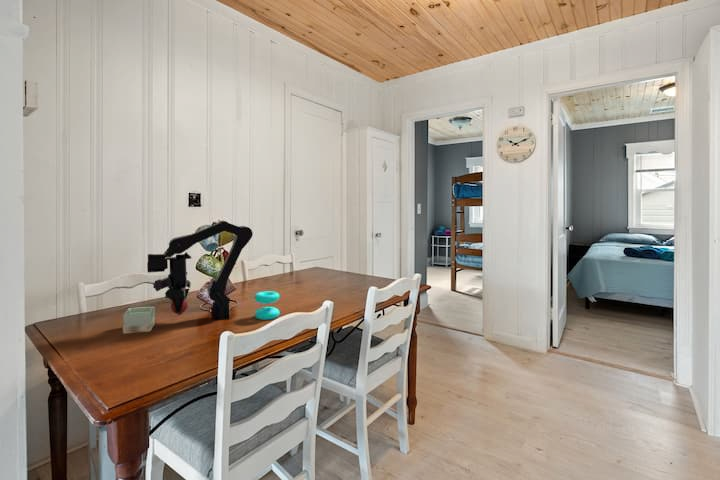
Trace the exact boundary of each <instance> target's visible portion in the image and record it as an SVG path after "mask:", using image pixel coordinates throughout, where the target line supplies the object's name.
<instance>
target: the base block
mask: <svg viewBox="0 0 720 480" xmlns="http://www.w3.org/2000/svg"><path fill="white" fill-rule="evenodd" d="M155 324H156V318H155V319H154V320H153V322H152V324H151V325H141V326H129V327H124V325H123V326H122V334H133V333H135V334H136V333H147V332H151V331H152V329H153V328H154V326H155Z"/></svg>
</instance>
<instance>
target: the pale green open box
mask: <svg viewBox="0 0 720 480" xmlns="http://www.w3.org/2000/svg"><path fill="white" fill-rule="evenodd" d="M155 310H156V308H155V306H144V307H143V306H142V307H129V308H128V309H126V311H125V312H124V313H123V314H122V315H123V326H124V327H129V326H141V325H151V324H152V322H153V320H154V319H155V320H156V314H155V313H156V311H155Z"/></svg>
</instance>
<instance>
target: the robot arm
mask: <svg viewBox="0 0 720 480" xmlns="http://www.w3.org/2000/svg"><path fill="white" fill-rule="evenodd" d="M223 232H227V233H230V234H231V235H234V236H233V241H232V245H231V247H230V250H229V252H228V253H227V256H226V258H225V260H224V262H223V264H222V266H221V268H220V270H219V273H218V275H217V276H216V277H215V278H214V279H213V278H210V281H209V284H208V285H207V286H206V288H207V291H206V292H207V295H208V297H209V299H210V300H211V301H213V302H212V305H211V308H210V313H211V316H210V317H211V318H212V320H213V321H214V320H228V319H230V318H231V313H230V311H231V310H230V309H231V308H230V307H231V306H230V302H231V298H230V297H229V296H228V294H226V290H227V286H228V281H229V278H230V275H231V274H232V272H233V269H234V268H235V265H236V264H237V261H238V259H239V257H240V255H241V252H242V251H243V249H244V248H245V247H246V246H247V245H248V244H249V242H250V240H252V238H253V235H254V234H253V233H254V232H253V230H252V229H251V228H250V227H248V226H244V225H240V226H239V225H236V224H233V223H229V222H228V221H226V220H221V221H219V222H217V223H215V224H213V225H210V226H208V227H206V228H203V229H201V230H198V231H196V232H193V233H191V234H186V235H181V236H177V237H176V236H175V237H173V238H172V239H170V241H169V243H168V247H167V249H166V250H165V251H164V252H163V253H157V254H156V253H154V254H153V253H148V254H147V263H146V267H147V268H146V270H147V273H161V272H165V270H167V269H168V270H169V274H168V275H167V277H164V278H158V279H156V280H154V282H153V283H152V286H153V289H155V291H156V292H159V291H161V290H163V289H166V288H167V290H166V291H165V293H164V295H165V298H166V299H170V300H171V301H173V303H174V306H175V310H176V312H177V313H179V312H180V310H181V307H182V304H183V302H184V299H185V300H186V301H187V297H188V294H189V291H190V288H191V281H190V280H188V278H187V275H188V272H187V260H190V259H192V256H191V255H190V254H189V253H188V252H187V250H189V249H190V248H192V247H193V246H194V245H196V244H198V243H200V242H202V241H205V240H207V239H209V238H211V237H213V236H216V235H218V234H221V233H223ZM183 253H184V254H183ZM174 255H175V256H174ZM168 261H169V265H168ZM168 267H169V268H168ZM186 287H187V288H186Z"/></svg>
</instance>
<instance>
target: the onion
mask: <svg viewBox="0 0 720 480" xmlns="http://www.w3.org/2000/svg"><path fill="white" fill-rule="evenodd" d="M171 301H172V300H171ZM170 308H171V311H172V312H173V313H174V314H176V315H178V316H181V315H182V314H183V313H184V312H185V311H186V310H187V309H188V301H187V299H186V300H185V299H184V302H183V304H182V307H181V310H180V312H179V313H177V312H176V310H175V306H174V303H173V301H172V302H171V304H170Z"/></svg>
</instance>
